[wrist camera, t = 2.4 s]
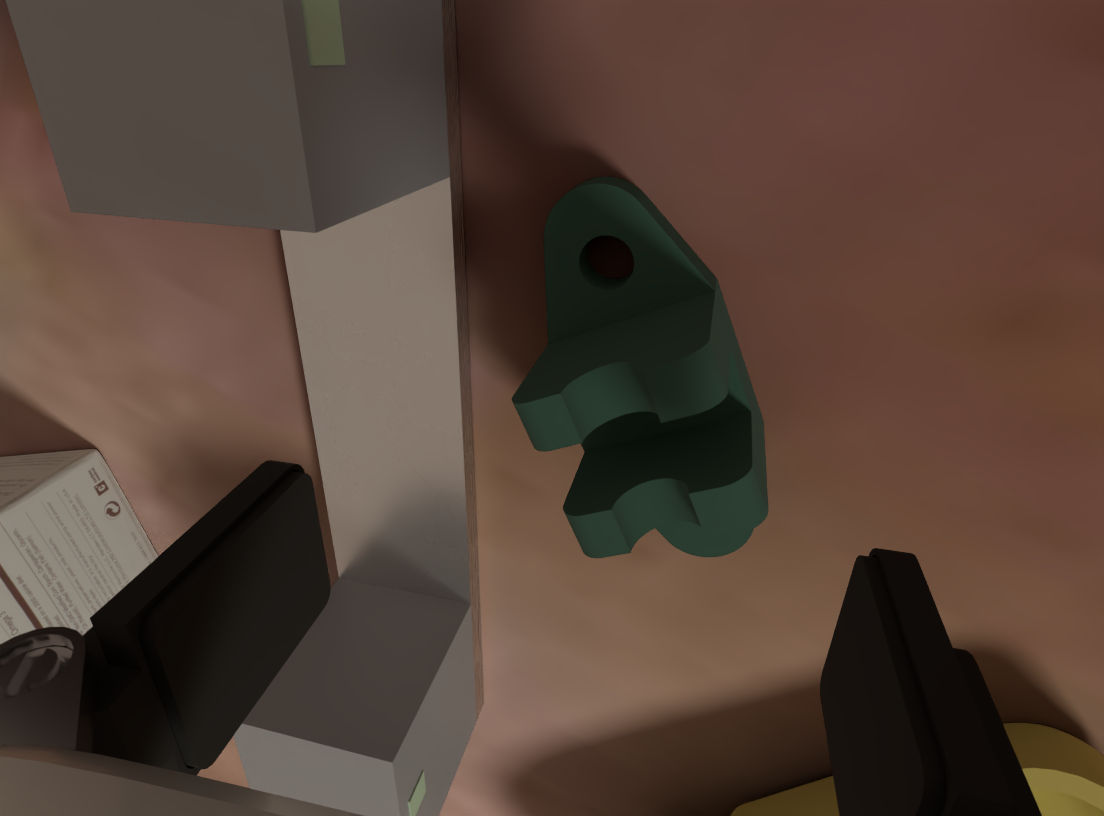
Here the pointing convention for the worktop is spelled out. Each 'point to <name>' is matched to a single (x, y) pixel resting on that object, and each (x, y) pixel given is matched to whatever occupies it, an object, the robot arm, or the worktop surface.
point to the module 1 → (239, 106)
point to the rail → (395, 383)
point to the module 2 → (368, 705)
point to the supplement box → (63, 541)
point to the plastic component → (1043, 752)
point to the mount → (643, 385)
